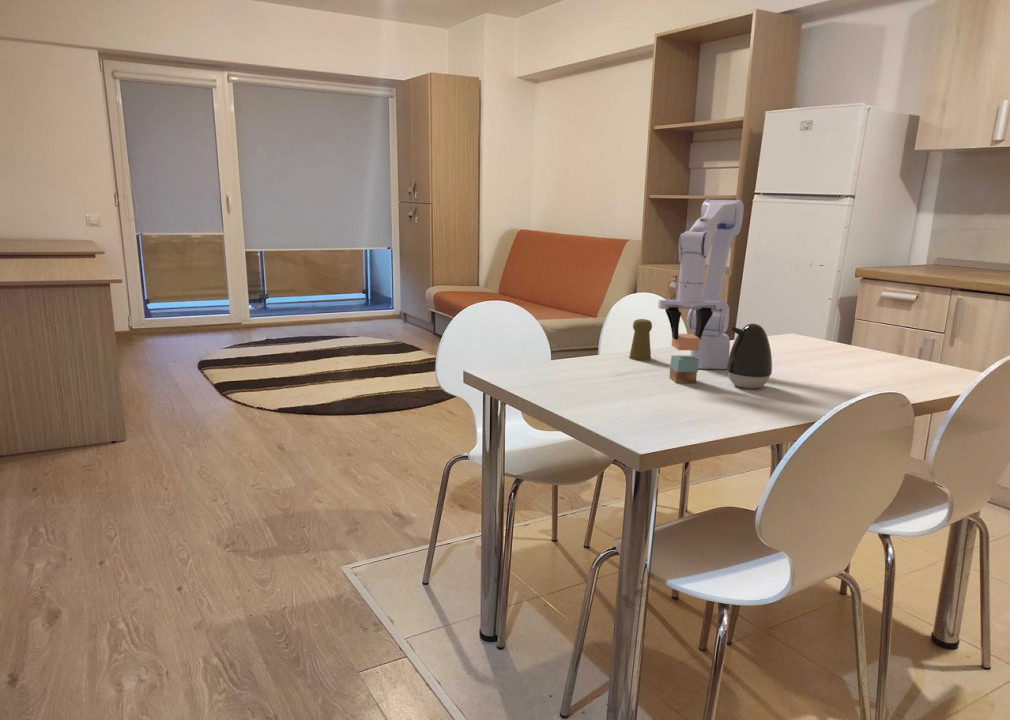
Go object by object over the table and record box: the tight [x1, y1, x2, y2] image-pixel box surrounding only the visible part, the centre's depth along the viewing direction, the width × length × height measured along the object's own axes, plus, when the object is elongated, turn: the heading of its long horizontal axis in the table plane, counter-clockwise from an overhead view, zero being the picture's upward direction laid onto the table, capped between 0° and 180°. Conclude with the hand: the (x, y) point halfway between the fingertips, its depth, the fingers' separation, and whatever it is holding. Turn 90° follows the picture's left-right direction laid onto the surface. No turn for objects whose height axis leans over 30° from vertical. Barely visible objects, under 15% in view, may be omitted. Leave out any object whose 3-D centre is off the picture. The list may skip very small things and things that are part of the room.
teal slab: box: [670, 354, 699, 373], centre depth 169 cm, size 5×5×3 cm
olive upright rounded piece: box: [628, 318, 653, 362], centre depth 193 cm, size 6×6×11 cm
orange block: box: [671, 333, 700, 351], centre depth 168 cm, size 5×5×3 cm
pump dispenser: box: [726, 323, 773, 390], centre depth 165 cm, size 10×10×15 cm
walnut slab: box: [669, 366, 698, 384], centre depth 170 cm, size 5×5×3 cm
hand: (686, 338), depth 168 cm, fingers closed on orange block, 5 cm apart
